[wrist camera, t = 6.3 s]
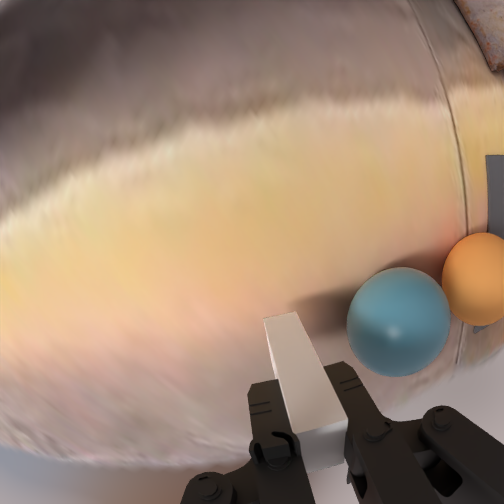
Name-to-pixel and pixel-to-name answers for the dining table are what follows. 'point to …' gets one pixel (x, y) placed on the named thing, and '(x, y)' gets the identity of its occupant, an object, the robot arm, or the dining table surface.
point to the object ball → (476, 279)
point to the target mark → (495, 200)
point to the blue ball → (398, 322)
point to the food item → (486, 27)
